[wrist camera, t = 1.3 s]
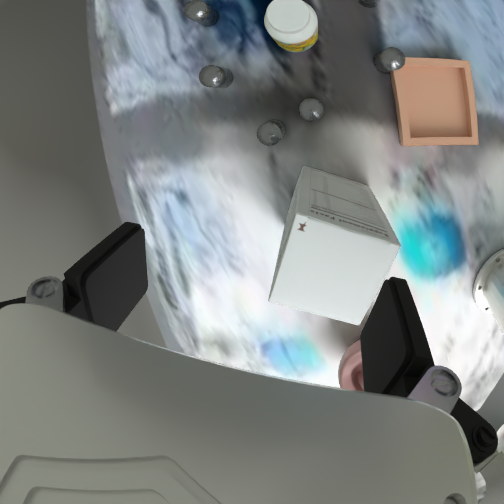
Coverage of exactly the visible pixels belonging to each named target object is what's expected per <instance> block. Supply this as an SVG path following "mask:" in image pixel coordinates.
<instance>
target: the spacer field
mask: <svg viewBox="0 0 504 504" xmlns="http://www.w3.org/2000/svg"><path fill="white" fill-rule="evenodd" d="M358 1H359V2H360V4H362V5H363V6H365V7H368V8H372V7H375V6H376V5H377V4H378V3H379V1H380V0H358ZM184 14H185V15H186V16H187V17H188V18H190V19H192V20H194V21H196V22H198V23H200V24H201V25H203V26H212V25H214V24H215V23H216V22H217V21H218V18H219V15H218V13H217V12H216V11H215V10H214V9H212V8H211V7H210V6H208V5H207V4H206V3H204V2H203V1H201V0H192V1H190V2H188V3H187V4H186V6H185V8H184ZM404 64H405V57H404V54H403V53H402V52H401V51H400V50H399V49H397V48H394V47H389V48H387V49H385V50H384V51H382V52H381V53H379V54H378V55H376V57H375V58H374V65H375V67H376V68H377V69H378V70H379V71H380V72H383V73H389V72H392V71H395V70H398V69H401V68H402V67H403V66H404ZM199 80H200V82H201V83H202V84H203V85H204V86H207V87H218V88H225V87H228V86H229V85H230V84H231V83H232V81H233V75H232V73H231V71H229V70H228V69H225V68H221V67H217V66H214V65H208V66H205V67H204V68H203V69H202V70H201V71H200V74H199ZM323 111H324V109H323V105H322V104H321V102H320V101H318V100H317V99H314V98H307V99H305V100H303V101H302V102H301V104H300V106H299V113H300V115H301V116H302V117H303V118H304V119H305V120H307V121H317V120H318V119H320V118H321V117H322V115H323ZM284 134H285V126H284V124H283V123H282V122H281V121H279V120H270V121H268V122H266V123H264V124H262V125H261V126H260V127H259V128H258V131H257V137H258V139H259V141H260V142H261V143H262V144H264V145H267V146H271V145H274V144H276V143H277V142H278V141H279V140H280V139H281V138H282V137H283V136H284Z"/></svg>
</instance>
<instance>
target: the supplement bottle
mask: <svg viewBox="0 0 504 504" xmlns="http://www.w3.org/2000/svg"><path fill="white" fill-rule="evenodd" d="M264 24H265V27H266V29H267V31H268V33H269V34H270V35H271V37H272V38H273V39H274V40H275V41H276V43H277V44H278V45H279V46H280V47H282V48H283V49H285V50H287V51H290V52H302V51H305V50H307V49H309V48H310V47H312V46H313V45H314V44H315V42H316V40H317V37H318V20H317V16H316V13H315V11H314V10H313V9H312V7H311V6H310V5H308V4H307V3H305V2H303V1H302V0H273V1H272V2H271V3H270V4H269V6H268V8H267V11H266V14H265V17H264Z"/></svg>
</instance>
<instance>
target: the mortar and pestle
mask: <svg viewBox="0 0 504 504" xmlns="http://www.w3.org/2000/svg"><path fill="white" fill-rule="evenodd" d="M338 378H339V384H340V387H341V388H343V389H350V390H357V391H364V383H363V368H362V356H361V344H360V340H358V341H356V342H355V343H353V344H352V345H351V346H350V347H349V348H348V349H347V350H346V352H345V353H344V355H343V357H342V359H341V361H340V364H339V370H338Z"/></svg>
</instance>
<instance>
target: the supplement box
mask: <svg viewBox="0 0 504 504" xmlns="http://www.w3.org/2000/svg"><path fill="white" fill-rule="evenodd" d="M400 246H401V245H400V243H399V241H398V239H397V237H396V235H395V233H394V231H393V229H392V227H391V225H390V223H389V221H388V220H387V218H386V216H385V214H384V212H383V211H382V209H381V207H380V205H379V203H378V201H377V199H376V198H375V196H374V194H373V192H372V190H371V189H370V187H369V186H367V185H364V184H361V183H358V182H355V181H352V180H349V179H346V178H343V177H340V176H337V175H334V174H330V173H327V172H324V171H321V170H317V169H314V168H311V167H307V166H302V169H301V172H300V175H299V178H298V181H297V184H296V187H295V191H294V194H293V197H292V200H291V204H290V207H289V210H288V214H287V218H286V222H285V226H284V231H283V235H282V240H281V245H280V249H279V254H278V259H277V263H276V268H275V273H274V277H273V282H272V286H271V291H270V295H269V300H268V301H269V302H272V303H276V304H280V305H283V306H287V307H291V308H294V309H298V310H301V311H305V312H309V313H312V314H316V315H320V316H324V317H328V318H331V319H335V320H339V321H343V322H347V323H351V324H354V325H358V326H359V325H360V323H361V321H362V320H363V318H364V316H365V314H366V313H367V311H368V309H369V307H370V305H371V304H372V302H373V300H374V298H375V296H376V294H377V292H378V291H379V289H380V287H381V285H382V283H383V281H384V279H385V277H386V275H387V273H388V271H389V269H390V267H391V265H392V263H393V261H394V259H395V257H396V255H397V253H398V251H399V249H400Z"/></svg>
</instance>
